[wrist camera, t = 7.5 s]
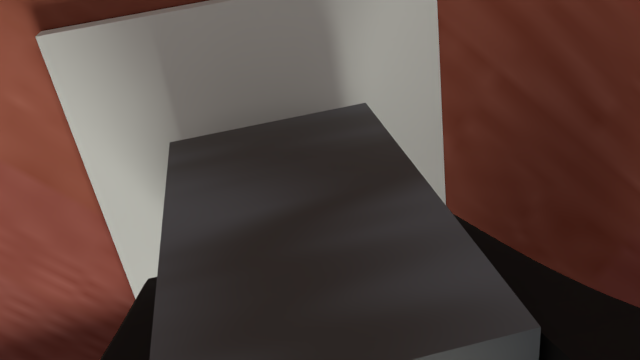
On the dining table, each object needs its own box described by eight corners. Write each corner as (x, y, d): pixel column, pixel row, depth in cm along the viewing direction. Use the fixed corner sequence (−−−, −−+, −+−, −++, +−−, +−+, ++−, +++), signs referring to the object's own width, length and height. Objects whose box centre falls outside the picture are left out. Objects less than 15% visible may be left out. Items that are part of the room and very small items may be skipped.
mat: (427, -40, 14) (435, -38, 13) (442, 263, 18) (448, 272, 18) (40, 31, 13) (35, 36, 12) (153, 331, 17) (152, 343, 17)
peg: (365, 102, 13) (541, 326, 6) (382, 260, 15) (527, 550, 9) (169, 142, 12) (142, 427, 6) (214, 299, 15) (231, 637, 8)
